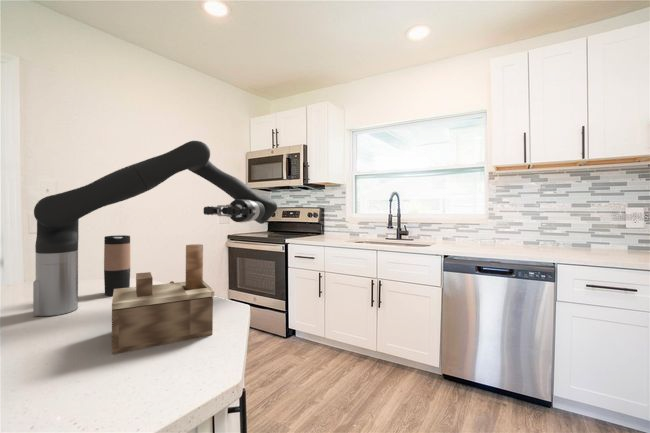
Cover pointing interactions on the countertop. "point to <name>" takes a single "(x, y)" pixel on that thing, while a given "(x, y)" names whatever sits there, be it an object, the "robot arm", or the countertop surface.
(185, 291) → the lid
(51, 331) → the countertop surface
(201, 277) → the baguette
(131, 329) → the wooden box
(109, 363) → the countertop surface
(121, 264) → the travel mug
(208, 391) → the countertop surface
